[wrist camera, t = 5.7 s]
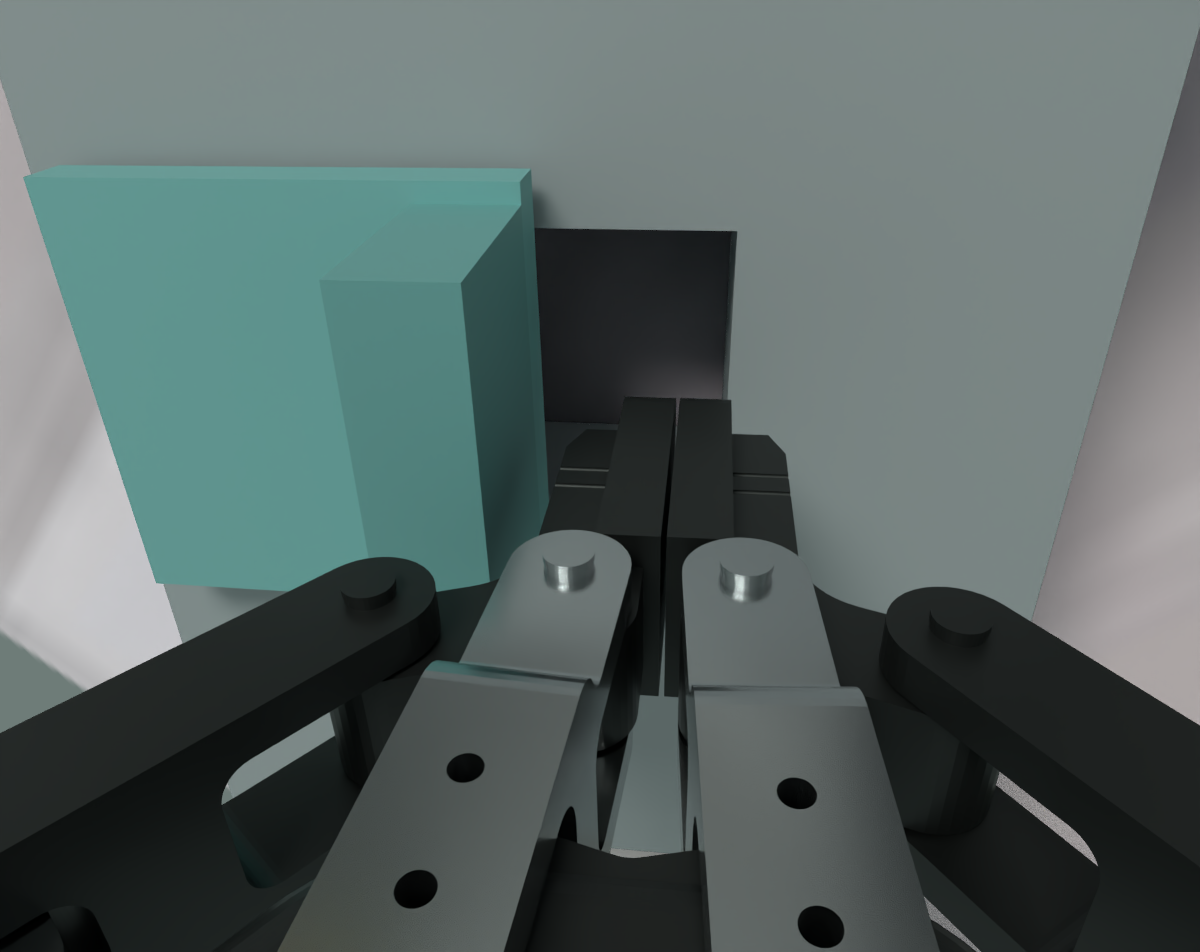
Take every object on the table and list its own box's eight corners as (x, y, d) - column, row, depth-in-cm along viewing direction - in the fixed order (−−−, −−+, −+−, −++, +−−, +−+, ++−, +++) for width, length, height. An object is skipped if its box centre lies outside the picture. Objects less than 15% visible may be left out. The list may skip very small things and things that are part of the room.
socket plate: (1118, -133, 14) (1252, -158, 10) (922, 737, 23) (958, 879, 19) (113, -105, 15) (-64, -119, 12) (306, 691, 24) (237, 814, 21)
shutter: (530, 167, 12) (457, 253, 9) (552, 579, 16) (506, 751, 13) (59, 165, 13) (-173, 242, 10) (179, 557, 17) (39, 715, 13)
